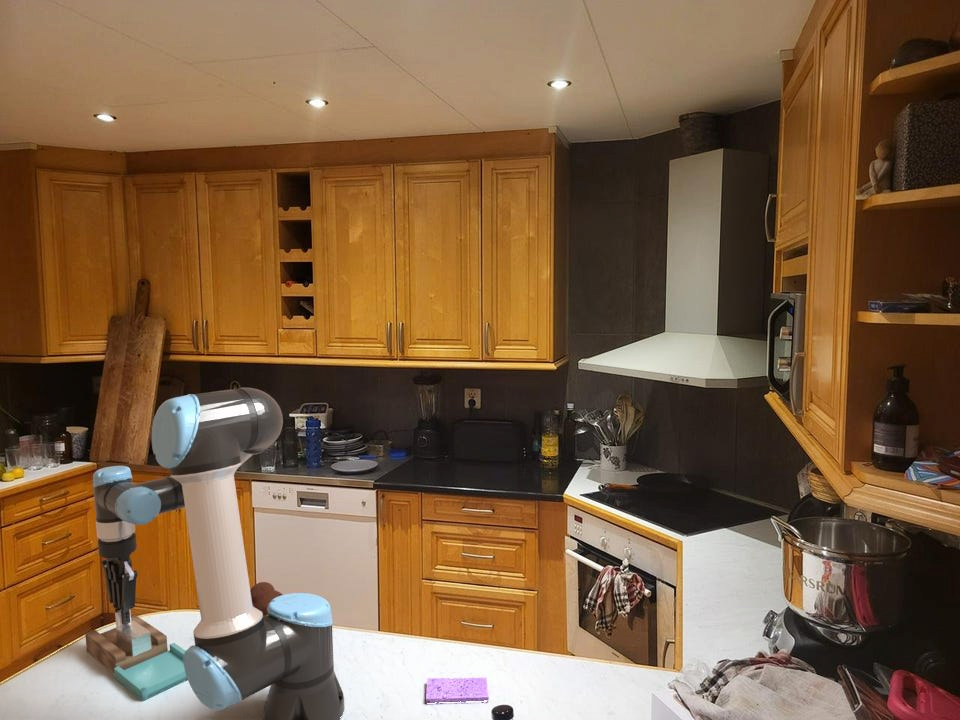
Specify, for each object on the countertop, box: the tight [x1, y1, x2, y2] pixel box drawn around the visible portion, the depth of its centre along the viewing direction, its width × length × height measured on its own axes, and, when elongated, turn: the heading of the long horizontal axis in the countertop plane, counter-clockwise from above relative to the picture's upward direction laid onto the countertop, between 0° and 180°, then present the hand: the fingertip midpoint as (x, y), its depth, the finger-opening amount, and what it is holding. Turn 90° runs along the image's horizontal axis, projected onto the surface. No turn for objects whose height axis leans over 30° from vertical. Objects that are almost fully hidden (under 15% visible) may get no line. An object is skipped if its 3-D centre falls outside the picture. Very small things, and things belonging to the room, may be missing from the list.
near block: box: [124, 626, 151, 657], centre depth 149 cm, size 4×4×4 cm
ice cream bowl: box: [250, 581, 283, 616], centre depth 154 cm, size 11×11×15 cm
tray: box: [113, 642, 188, 702], centre depth 144 cm, size 13×13×2 cm
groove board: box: [84, 614, 169, 675], centre depth 153 cm, size 16×11×4 cm
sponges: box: [425, 676, 490, 703], centre depth 137 cm, size 7×13×2 cm, turn 92°
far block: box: [115, 621, 141, 650], centre depth 151 cm, size 4×4×4 cm
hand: (124, 635), depth 153 cm, fingers closed
